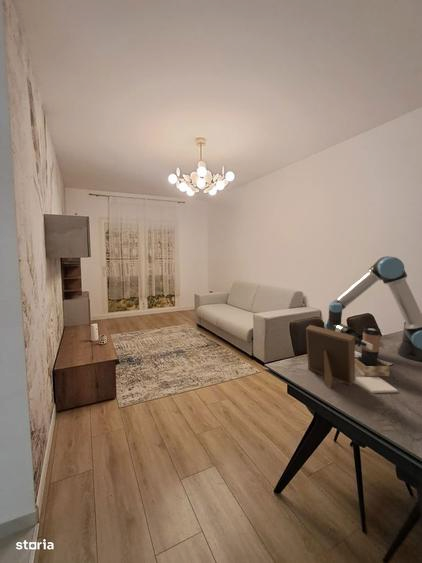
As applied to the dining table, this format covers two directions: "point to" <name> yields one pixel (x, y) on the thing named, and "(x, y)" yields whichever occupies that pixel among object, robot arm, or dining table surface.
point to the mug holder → (372, 368)
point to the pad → (376, 384)
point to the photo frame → (331, 354)
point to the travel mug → (373, 338)
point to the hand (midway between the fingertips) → (378, 346)
